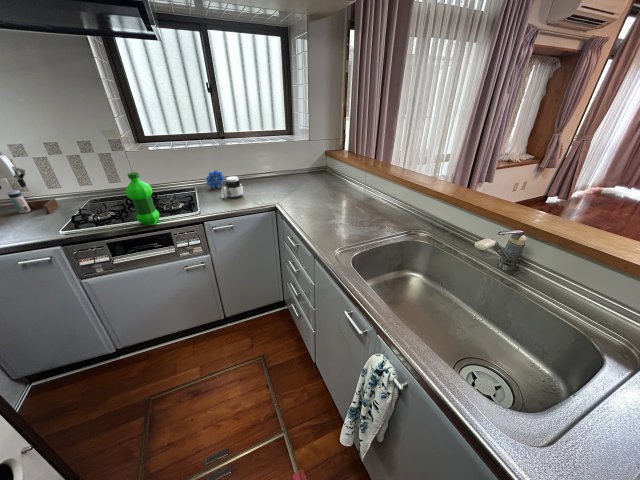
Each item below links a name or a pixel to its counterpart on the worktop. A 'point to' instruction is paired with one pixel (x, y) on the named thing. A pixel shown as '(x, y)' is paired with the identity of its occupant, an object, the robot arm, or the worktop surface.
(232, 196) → the spread jar
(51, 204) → the corner rack
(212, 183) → the blue knobbly toy
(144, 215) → the plastic bottle
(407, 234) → the worktop surface
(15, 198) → the white pill bottle
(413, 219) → the worktop surface
